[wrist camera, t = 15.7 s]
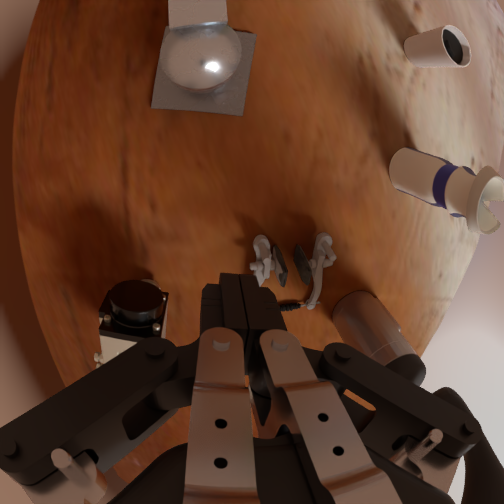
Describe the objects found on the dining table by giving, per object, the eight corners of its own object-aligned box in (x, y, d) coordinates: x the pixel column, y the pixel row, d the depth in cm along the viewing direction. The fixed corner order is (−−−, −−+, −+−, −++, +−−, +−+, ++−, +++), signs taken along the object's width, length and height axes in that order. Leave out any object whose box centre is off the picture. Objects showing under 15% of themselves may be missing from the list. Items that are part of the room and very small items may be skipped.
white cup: (424, 77, 34) (465, 76, 25) (396, 52, 32) (436, 44, 23) (435, 51, 32) (474, 47, 23) (408, 27, 30) (447, 16, 21)
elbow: (239, 89, 29) (245, 82, 24) (170, 98, 28) (160, 93, 23) (229, -37, 21) (232, -61, 15) (163, -30, 20) (156, -52, 14)
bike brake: (244, 226, 41) (240, 321, 53) (250, 254, 36) (244, 350, 47) (332, 225, 43) (310, 315, 55) (350, 250, 38) (320, 342, 49)
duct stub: (255, 36, 30) (261, 25, 26) (241, 116, 35) (245, 115, 31) (166, 28, 28) (161, 16, 24) (152, 108, 33) (143, 107, 28)
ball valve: (122, 247, 41) (81, 321, 25) (175, 256, 43) (158, 336, 27) (123, 335, 48) (101, 412, 32) (166, 342, 50) (158, 423, 34)
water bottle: (429, 151, 40) (548, 195, 18) (418, 197, 44) (527, 262, 21) (394, 137, 39) (525, 176, 16) (383, 188, 42) (501, 258, 20)
